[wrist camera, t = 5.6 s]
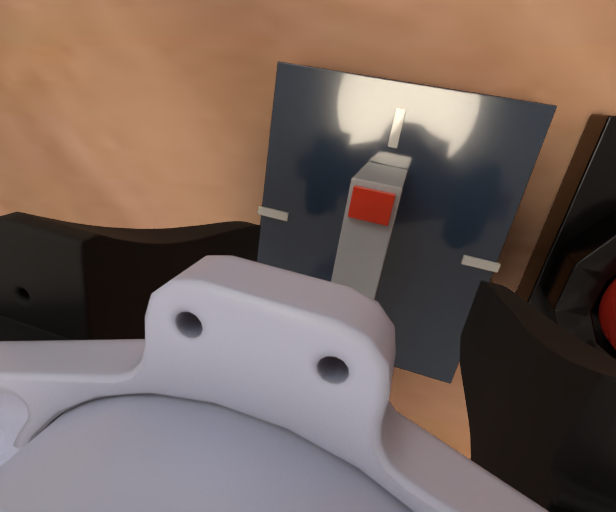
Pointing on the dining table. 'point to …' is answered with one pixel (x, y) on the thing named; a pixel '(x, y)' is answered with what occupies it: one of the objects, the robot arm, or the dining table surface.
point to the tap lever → (368, 227)
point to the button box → (579, 240)
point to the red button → (608, 313)
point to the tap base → (415, 199)
